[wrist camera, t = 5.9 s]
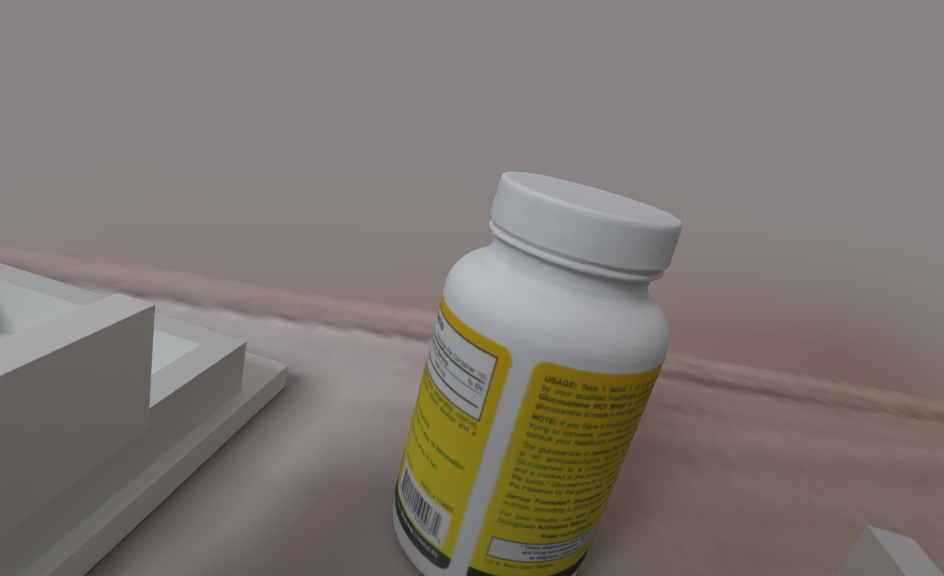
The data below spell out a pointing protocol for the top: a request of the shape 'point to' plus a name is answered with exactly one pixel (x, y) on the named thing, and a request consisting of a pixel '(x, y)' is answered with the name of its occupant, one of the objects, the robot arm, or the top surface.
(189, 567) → the top surface
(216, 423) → the socket board
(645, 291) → the pill bottle
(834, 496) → the top surface
